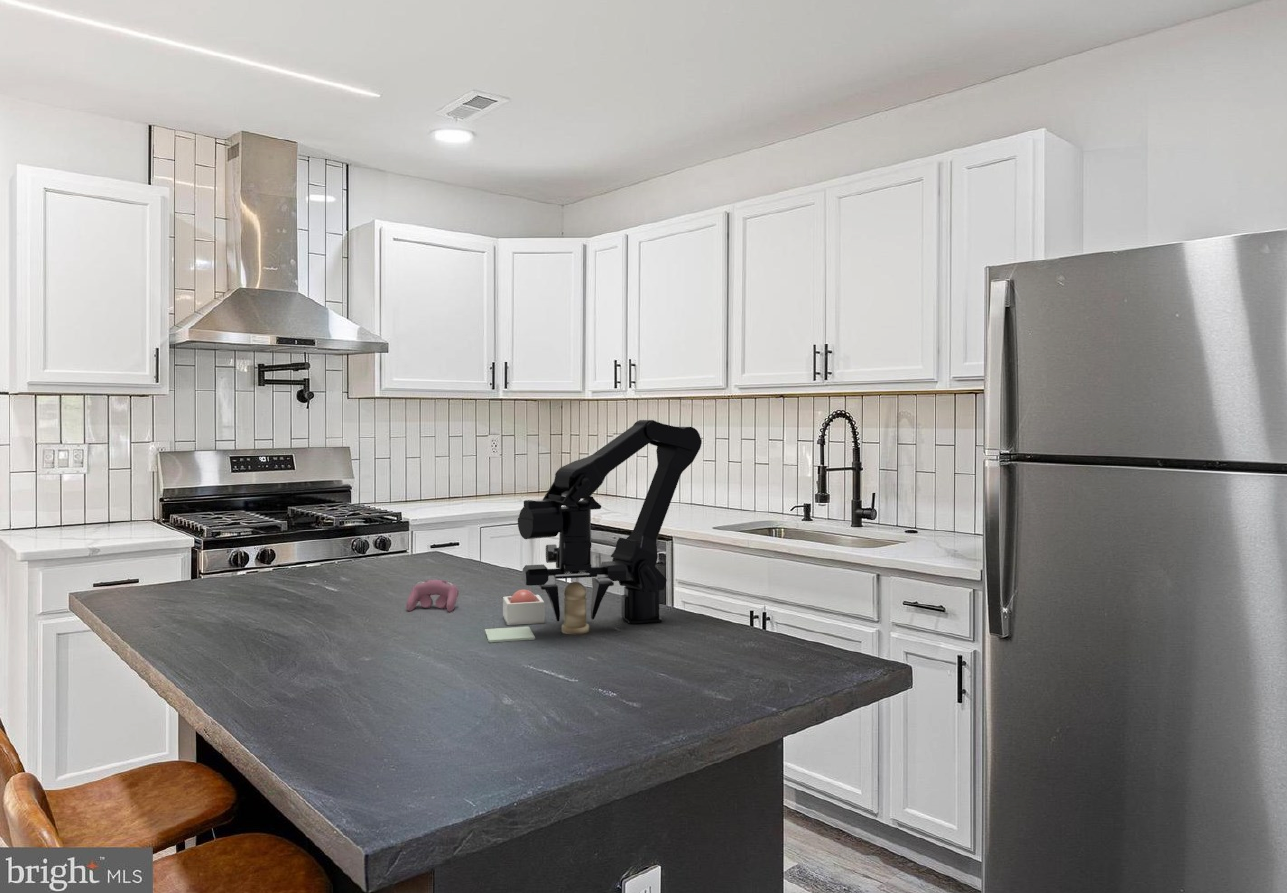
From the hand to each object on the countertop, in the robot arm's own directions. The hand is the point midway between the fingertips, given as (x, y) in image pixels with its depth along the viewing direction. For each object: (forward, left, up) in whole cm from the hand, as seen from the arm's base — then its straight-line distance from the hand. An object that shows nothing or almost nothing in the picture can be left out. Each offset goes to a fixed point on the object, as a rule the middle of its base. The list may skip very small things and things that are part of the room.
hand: (575, 619), depth 155 cm
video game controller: (+25, -26, -2) cm, 36 cm away
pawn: (0, 0, -2) cm, 2 cm away
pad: (+12, 0, -2) cm, 12 cm away
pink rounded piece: (+8, -11, -2) cm, 14 cm away
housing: (+8, -11, -2) cm, 14 cm away
